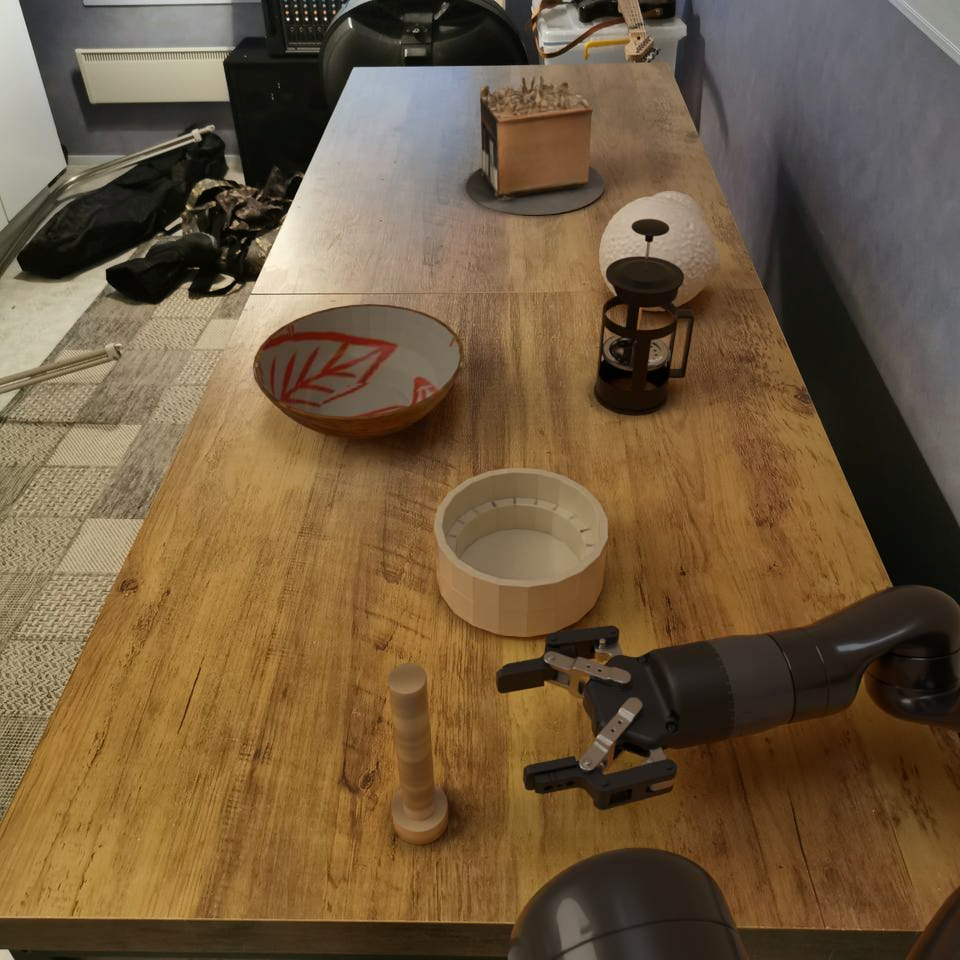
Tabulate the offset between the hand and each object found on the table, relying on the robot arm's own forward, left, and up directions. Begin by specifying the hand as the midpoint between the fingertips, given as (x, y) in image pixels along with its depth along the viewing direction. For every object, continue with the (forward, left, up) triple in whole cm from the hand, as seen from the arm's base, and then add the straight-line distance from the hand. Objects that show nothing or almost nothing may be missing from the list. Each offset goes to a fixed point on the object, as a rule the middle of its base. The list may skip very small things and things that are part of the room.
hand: (509, 727), depth 68 cm
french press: (+52, -29, -10) cm, 60 cm away
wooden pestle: (0, +7, -10) cm, 12 cm away
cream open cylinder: (+24, -7, -10) cm, 27 cm away
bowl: (+56, +5, -10) cm, 57 cm away
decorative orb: (+74, -39, -10) cm, 84 cm away
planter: (+118, -33, -10) cm, 123 cm away
